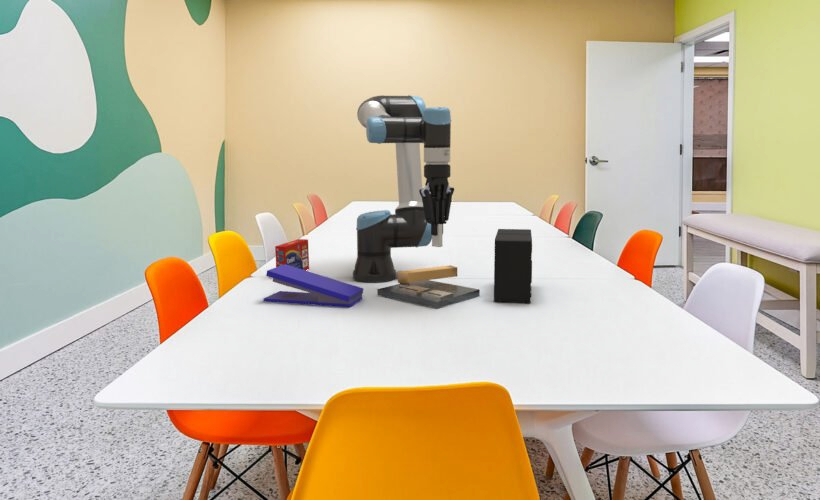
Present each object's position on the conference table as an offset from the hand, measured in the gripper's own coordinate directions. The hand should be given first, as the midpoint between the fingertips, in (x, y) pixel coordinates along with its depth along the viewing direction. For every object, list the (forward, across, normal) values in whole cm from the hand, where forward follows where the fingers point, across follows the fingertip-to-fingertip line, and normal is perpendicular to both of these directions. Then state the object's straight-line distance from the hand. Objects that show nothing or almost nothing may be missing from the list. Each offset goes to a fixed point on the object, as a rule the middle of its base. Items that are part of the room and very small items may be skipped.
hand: (437, 246), depth 168 cm
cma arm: (+13, +11, +13) cm, 22 cm away
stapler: (+17, -23, +29) cm, 40 cm away
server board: (+16, +4, +7) cm, 18 cm away
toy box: (+17, -3, +66) cm, 68 cm away
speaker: (+17, +24, -11) cm, 31 cm away
